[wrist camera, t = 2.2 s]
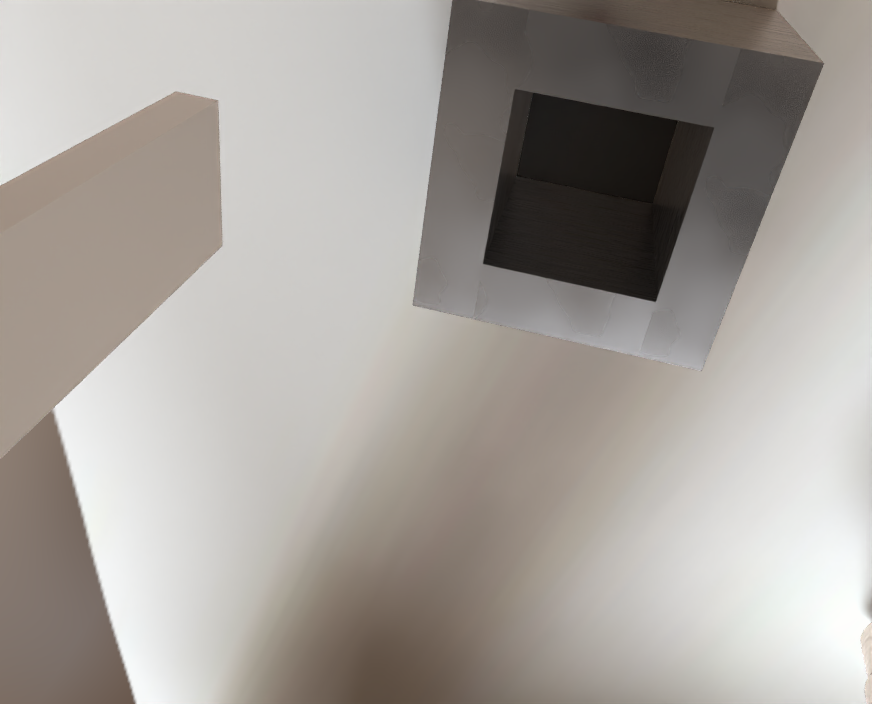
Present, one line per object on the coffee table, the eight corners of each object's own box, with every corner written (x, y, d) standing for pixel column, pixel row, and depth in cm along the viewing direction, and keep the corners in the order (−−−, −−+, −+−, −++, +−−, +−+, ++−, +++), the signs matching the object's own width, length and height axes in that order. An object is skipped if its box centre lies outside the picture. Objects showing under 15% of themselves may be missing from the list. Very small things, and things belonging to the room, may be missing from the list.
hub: (688, 260, 23) (701, 371, 18) (459, 212, 24) (412, 305, 19) (776, 10, 19) (824, 63, 14) (499, -39, 20) (453, -5, 15)
